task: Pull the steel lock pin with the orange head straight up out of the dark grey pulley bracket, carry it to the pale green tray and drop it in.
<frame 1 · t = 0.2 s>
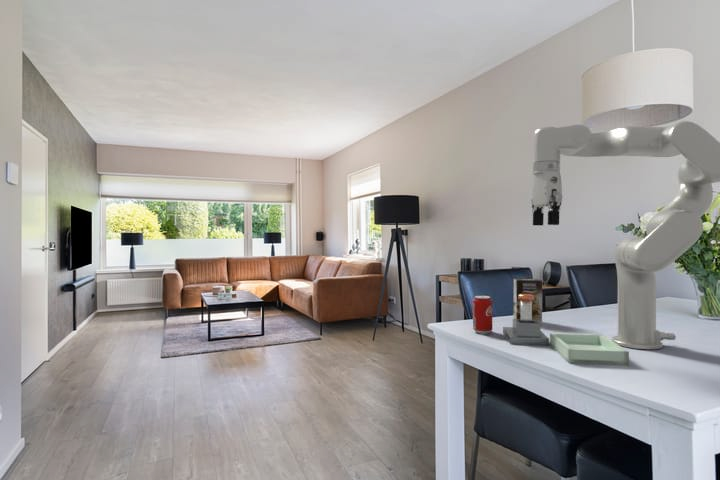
hand: (545, 225, 129), 36 cm above the table, tool pointing down, fingers open, 9 cm apart
lock pin: (526, 334, 130), point 2 cm above the table, touching bracket
beverage can: (482, 332, 142), on the table
coffee box: (527, 323, 157), on the table
tray: (586, 354, 115), on the table
bracket: (526, 340, 130), on the table
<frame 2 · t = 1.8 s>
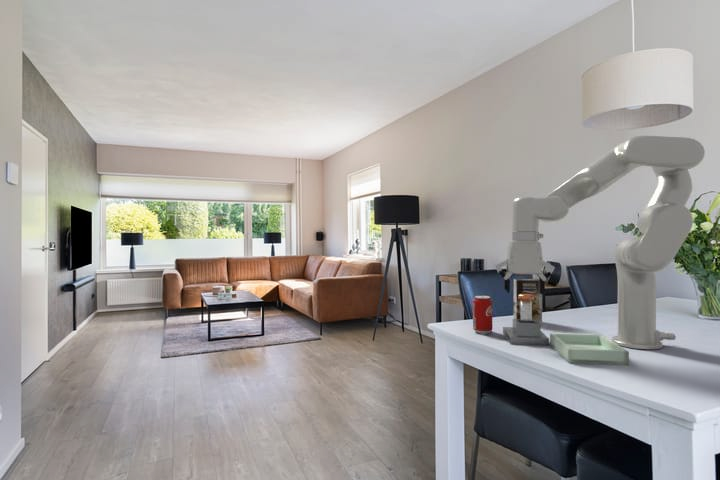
hand: (523, 292, 130), 15 cm above the table, tool pointing down, fingers open, 9 cm apart
nothing on the table moved.
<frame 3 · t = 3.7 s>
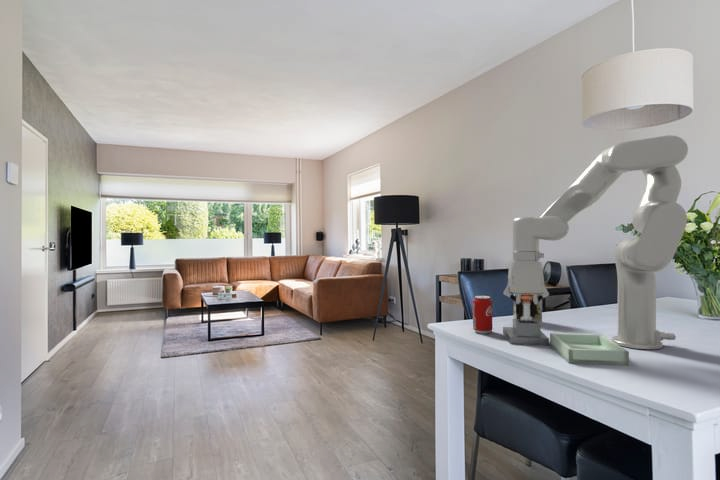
hand: (526, 315, 130), 8 cm above the table, tool pointing down, fingers closed on lock pin, 3 cm apart
lock pin: (526, 334, 130), point 2 cm above the table, touching bracket, gripper
everything else where it was.
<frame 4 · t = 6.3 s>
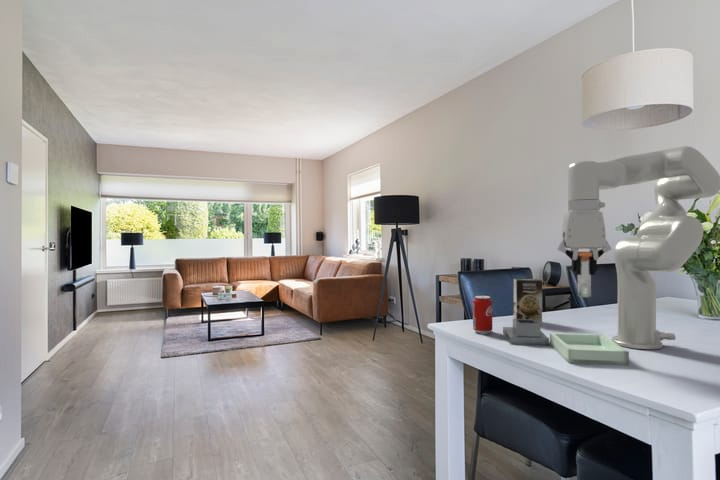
hand: (584, 273, 115), 22 cm above the table, tool pointing down, fingers closed on lock pin, 3 cm apart
lock pin: (584, 296, 116), point 16 cm above the table, touching gripper
everything else where it was.
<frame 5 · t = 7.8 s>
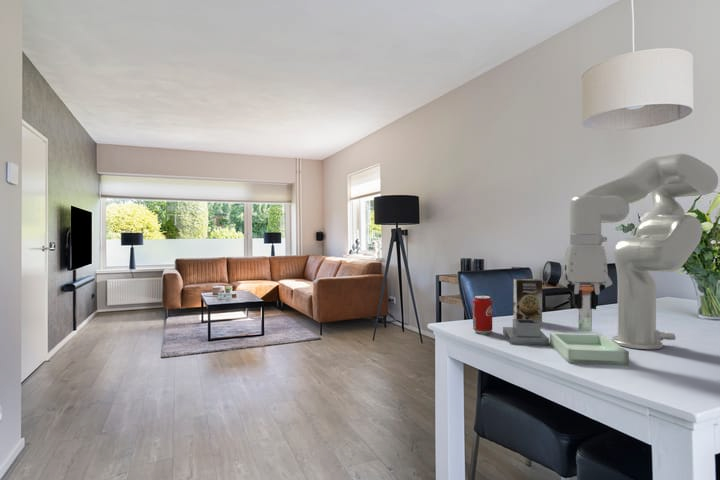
hand: (585, 307, 115), 13 cm above the table, tool pointing down, fingers closed on lock pin, 3 cm apart
lock pin: (585, 330, 115), point 7 cm above the table, touching gripper
everything else where it was.
when the fingers open (9 cm above the table, at t = 9.2 s): lock pin drops 1 cm, resting on tray.
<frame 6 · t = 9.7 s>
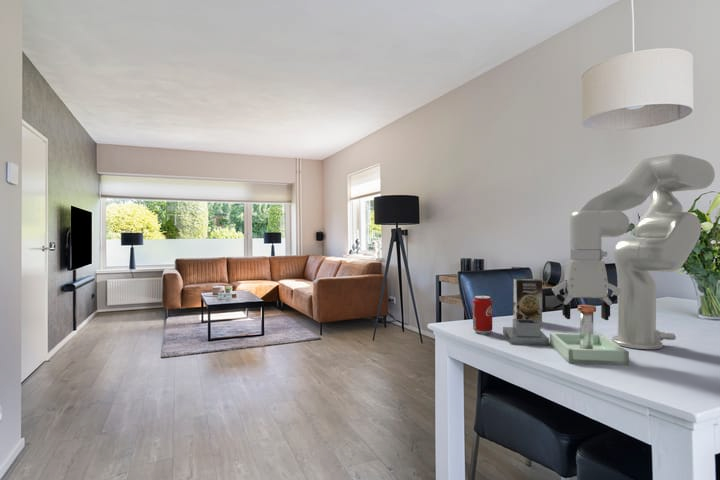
hand: (585, 318, 115), 10 cm above the table, tool pointing down, fingers open, 9 cm apart
lock pin: (586, 350, 115), point 1 cm above the table, touching tray
everything else where it was.
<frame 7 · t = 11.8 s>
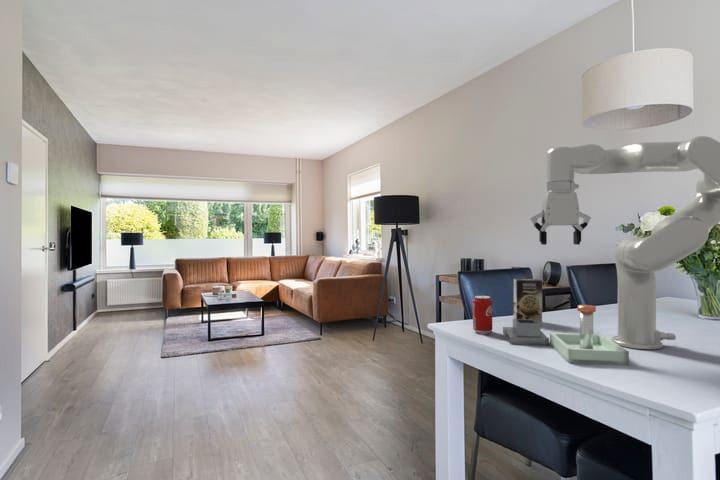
hand: (560, 244, 129), 30 cm above the table, tool pointing down, fingers open, 9 cm apart
nothing on the table moved.
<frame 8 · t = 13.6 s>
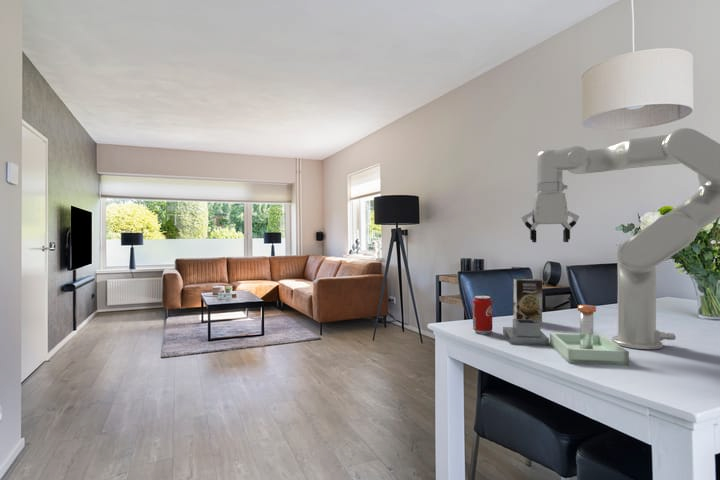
hand: (549, 242, 136), 30 cm above the table, tool pointing down, fingers open, 9 cm apart
nothing on the table moved.
at the end: lock pin inside the target area on the tray (0.1 cm from its centre), point 1.0 cm above the tray's base; the gripper is holding nothing; lock pin touching tray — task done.
